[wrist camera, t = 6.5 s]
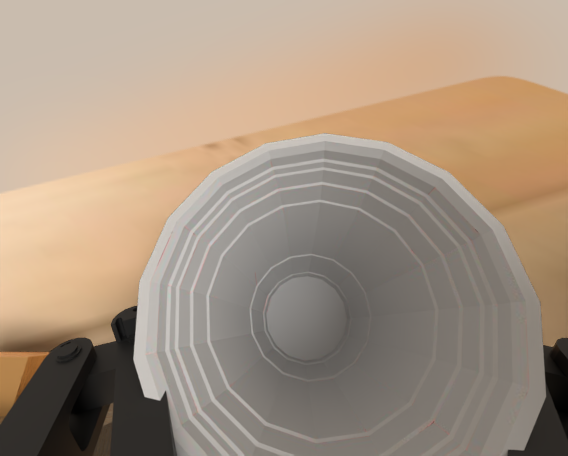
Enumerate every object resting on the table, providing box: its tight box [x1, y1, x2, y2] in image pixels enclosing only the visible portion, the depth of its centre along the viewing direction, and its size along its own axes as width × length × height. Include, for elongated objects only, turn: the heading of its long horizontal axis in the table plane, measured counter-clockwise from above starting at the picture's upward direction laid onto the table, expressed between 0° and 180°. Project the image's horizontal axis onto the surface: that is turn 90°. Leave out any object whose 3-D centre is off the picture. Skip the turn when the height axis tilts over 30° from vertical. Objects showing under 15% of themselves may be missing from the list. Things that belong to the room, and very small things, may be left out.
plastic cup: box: [133, 133, 546, 456], centre depth 13 cm, size 11×11×12 cm
